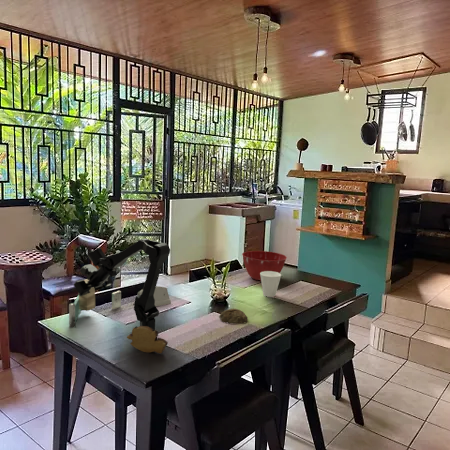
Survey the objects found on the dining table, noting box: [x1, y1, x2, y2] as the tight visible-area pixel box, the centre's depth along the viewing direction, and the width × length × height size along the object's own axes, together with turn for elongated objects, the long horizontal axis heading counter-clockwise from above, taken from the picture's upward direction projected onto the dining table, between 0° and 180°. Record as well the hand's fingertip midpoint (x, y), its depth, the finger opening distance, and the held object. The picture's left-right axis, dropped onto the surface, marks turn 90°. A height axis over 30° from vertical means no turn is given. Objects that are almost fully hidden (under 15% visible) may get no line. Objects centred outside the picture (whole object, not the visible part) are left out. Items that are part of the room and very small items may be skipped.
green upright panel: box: [73, 294, 82, 323], centre depth 187 cm, size 22×2×8 cm, turn 10°
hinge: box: [137, 285, 172, 307], centre depth 207 cm, size 17×5×10 cm, turn 125°
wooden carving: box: [126, 325, 169, 354], centre depth 155 cm, size 16×5×10 cm, turn 75°
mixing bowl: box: [241, 250, 288, 282], centre depth 262 cm, size 28×28×16 cm
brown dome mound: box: [219, 307, 248, 324], centre depth 192 cm, size 13×12×5 cm
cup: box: [260, 271, 282, 298], centre depth 229 cm, size 12×12×12 cm
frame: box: [68, 290, 122, 329], centre depth 187 cm, size 31×2×10 cm, turn 153°
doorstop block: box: [78, 278, 96, 312], centre depth 187 cm, size 5×5×13 cm
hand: (84, 293), depth 188 cm, fingers closed on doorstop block, 5 cm apart
